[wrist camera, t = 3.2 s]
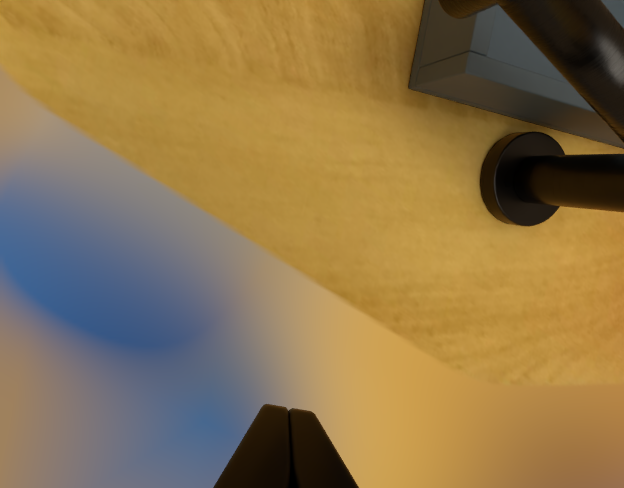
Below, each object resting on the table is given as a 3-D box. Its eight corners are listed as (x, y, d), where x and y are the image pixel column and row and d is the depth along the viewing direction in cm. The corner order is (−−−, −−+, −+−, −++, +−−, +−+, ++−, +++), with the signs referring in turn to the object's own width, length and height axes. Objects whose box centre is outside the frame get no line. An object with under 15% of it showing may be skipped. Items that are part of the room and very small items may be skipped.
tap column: (526, 239, 26) (684, 270, 18) (464, 196, 24) (610, 209, 17) (567, 163, 26) (740, 162, 18) (508, 114, 24) (672, 93, 17)
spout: (676, 174, 20) (778, 176, 16) (639, 235, 19) (735, 249, 16) (466, -66, 15) (551, -124, 12) (415, 10, 15) (488, -30, 12)
